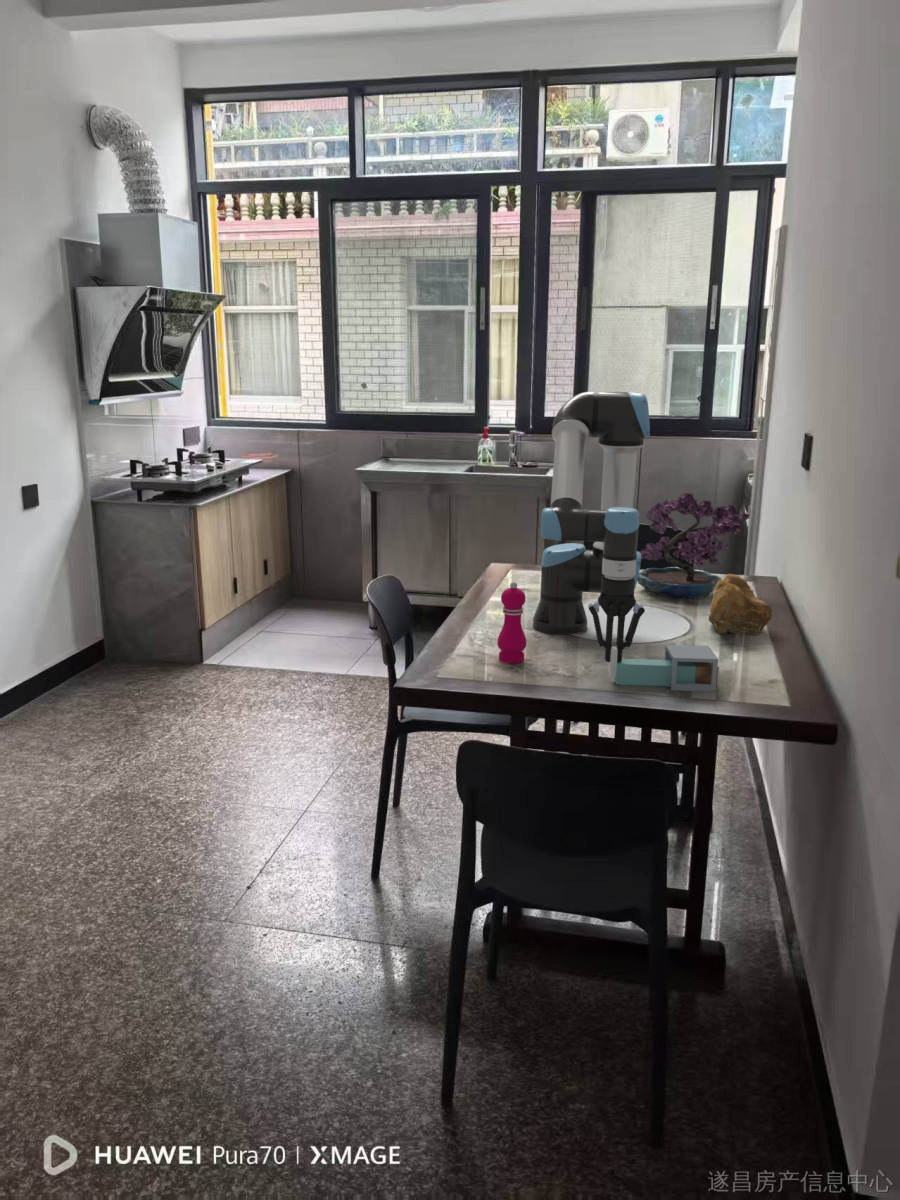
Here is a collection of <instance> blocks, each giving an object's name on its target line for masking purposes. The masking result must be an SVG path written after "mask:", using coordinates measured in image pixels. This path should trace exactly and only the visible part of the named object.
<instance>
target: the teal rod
mask: <svg viewBox="0 0 900 1200" xmlns="http://www.w3.org/2000/svg"><path fill="white" fill-rule="evenodd" d="M671 670H672V660H664V659H645V658H643V659H642V658H641V659H638V658H622V661H621V662H617V668H616V677H613V680H615V681H614V683H616V684H615V685H617V684H620V686H650V687H651V686H653V687H670V683H671ZM695 676H696V665H695V664H694V662H680V661H678V663H677V675H676V683H695Z"/></svg>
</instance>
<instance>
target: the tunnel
mask: <svg viewBox="0 0 900 1200" xmlns="http://www.w3.org/2000/svg"><path fill="white" fill-rule="evenodd" d="M664 647H665V648H664V659H663V660H672V670H671V683H670V686H669V689H670V691H671V692H673V691H675V692H676V691H678V692H679V691H680V692H709V693H713V692H714V693H715V692H716V690H717V688H716V678H717V667H719V666H718V665H719V658H718V657H717V656H716V654H715V653H714V652H713V650H712V648H711V647H710V646H709V645H699V644H697V645H695V644H694V645H691V644H688V645H687V644H665V646H664ZM678 661H680V662H712V671H711V683H710V684H696V683H676V675H677V663H678Z"/></svg>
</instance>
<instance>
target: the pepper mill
mask: <svg viewBox="0 0 900 1200" xmlns="http://www.w3.org/2000/svg"><path fill="white" fill-rule="evenodd" d="M500 600H501V603H502V605H503V607H502V613H503V614H504V615H503V616H504V620H503V626H502V628H501V630H500V632H499V634H498V638H497V643H496V645H497V647H498V649H500V651H499V652H498V659H499V662H502V663H505V664H520V663H522V662H524V660H525V652H523V651H524V650H525V649H526V647H527V638H526V635H525V632H524V630H523V627H522V620H521V619H522V615H523V614H524V612H523V611H524V607H523V606H524V605H525V603H526V595H525V592H524V591H523V589H521V588H518V583H517V582H516V581H512V582H510V587H508V588H505V589H504V590H503V591H502V593H501V597H500Z"/></svg>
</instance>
